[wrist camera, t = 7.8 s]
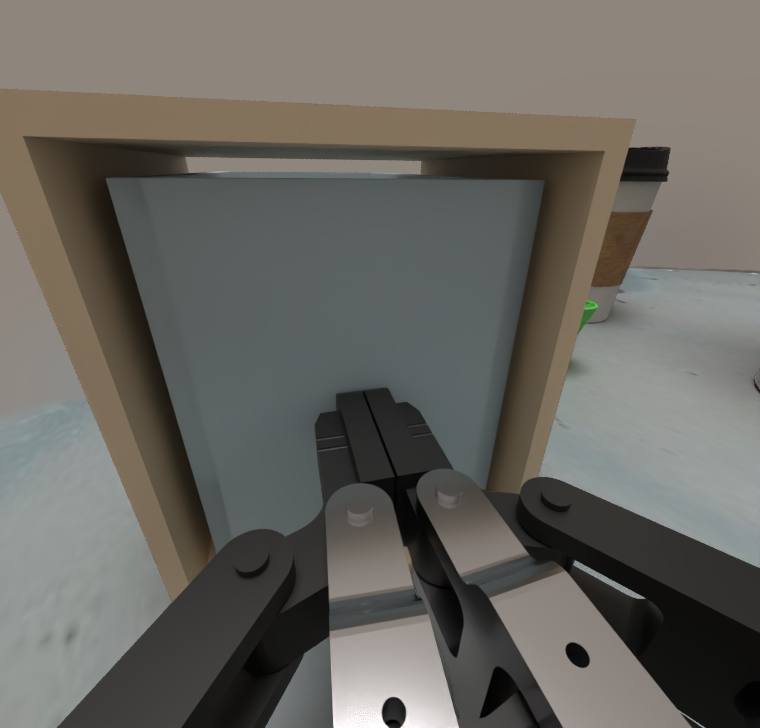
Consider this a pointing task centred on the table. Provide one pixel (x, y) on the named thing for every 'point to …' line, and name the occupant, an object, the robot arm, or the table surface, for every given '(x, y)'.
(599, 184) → the sleeve
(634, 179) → the coffee cup
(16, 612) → the table surface
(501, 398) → the drawer
